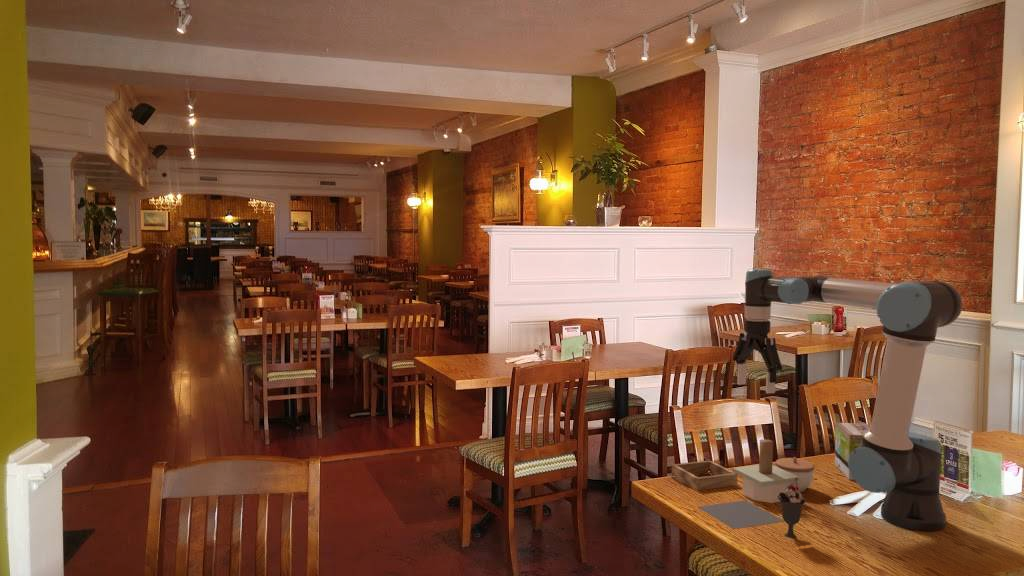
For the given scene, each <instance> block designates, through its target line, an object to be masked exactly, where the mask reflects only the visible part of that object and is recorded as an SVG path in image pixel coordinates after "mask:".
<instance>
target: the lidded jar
mask: <svg viewBox="0 0 1024 576" xmlns="http://www.w3.org/2000/svg"><path fill="white" fill-rule="evenodd" d="M775 466H776V467H778V468H780V469H783V470H785V471H787V472H789V473H792V474H794V475H796V476H798V477H800V481H798V482H797V486H796V482H795V483H794V482H790V483H788V487H789V485H790V484H791V485H792V484H793V483H794V484H793V486H794V487H798V488H799V490H798V491H799V492H800V493H801V492H802V493H803V492H805V491H806V490H807V489H808V487H810V486H811V484H812V482H813V479H814V474H815V473H814V470H815V464H814V463H813V462H811V461H809V460H805V459H801V458H797V457H795V456H794V457H783V458H778V459H776V461H775Z"/></svg>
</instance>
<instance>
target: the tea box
mask: <svg viewBox="0 0 1024 576" xmlns="http://www.w3.org/2000/svg"><path fill="white" fill-rule="evenodd" d="M870 428H871V425H869V424H868V423H865V422H864V423H862V422H861V423H859V422H835V437H834V439H835V446H834V450H835V451H834V465H835V466H836V467H837V469H839V471H840V472H841V473H842V474H843V475H844V476H845V477H846V478H847V480H849V481H855V480H854V477H853V476H852V475H851V473H850V470H849V466H848V459H849V455H850V453H851V452H852V451H853V450H854V449H856V448H857V447H860V445H861V440H862V434H863V432H864V431H866V430H868V429H870Z"/></svg>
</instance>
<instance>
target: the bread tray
mask: <svg viewBox="0 0 1024 576" xmlns="http://www.w3.org/2000/svg"><path fill="white" fill-rule="evenodd" d="M708 471H710V472H709V473H711V474H712V475H713V476H712V475H707V476H698V475H697V474H704V475H706V474H705V473H708ZM695 475H696V476H695ZM672 476H675V477H672ZM671 479H673V480H676V481H677V482H679V483H681V484H683V485H685V486H686V487H688V488H689V489H694V490H696V491H702V490H703V491H704V490H709V489H717V488H725V487H726V488H727V487H731V486H737V485H738V474H736V473H734V472H733V470H730V469H728V468H726V467H725V466H722V465H720V464H718V463H716V462H715V461H712V460H701V461H694V462H693V461H691V462H684V463H673V464H671Z"/></svg>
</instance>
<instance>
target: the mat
mask: <svg viewBox="0 0 1024 576" xmlns="http://www.w3.org/2000/svg"><path fill="white" fill-rule="evenodd" d="M697 508H699V509H700V510H702V511H703V512H705V513H707V514H709V516H711V517H713V518H715V520H716V519H717V520H718V521H719V522H721V523H723V524H724V525H726V526H728V527H729V528H731V529H733V530H737V529H744V528H751V527H757V526H763V525H764V526H765V525H769V524H776V523H783V522H785V521H784V520H783V518H780V517H778V516H776V515H774V514H773V513H771V512H769V511H767V510H765V509H763V508H761V507H759V506H757V505H756V504H754V503H752V502H750V501H748V500H746V499H745V500H739V501H738V500H737V501H731V502H723V503H715V504H709V505H704V506H703V505H701V506H698V507H697Z"/></svg>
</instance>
